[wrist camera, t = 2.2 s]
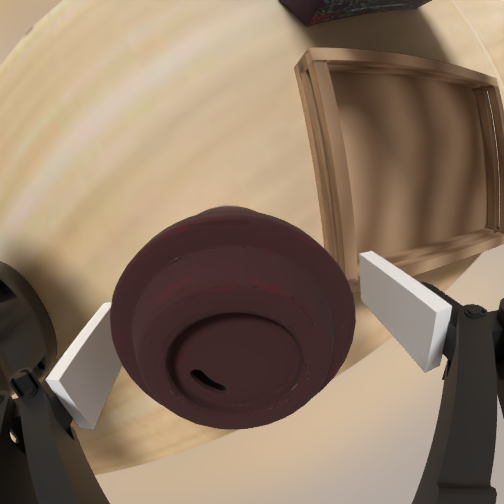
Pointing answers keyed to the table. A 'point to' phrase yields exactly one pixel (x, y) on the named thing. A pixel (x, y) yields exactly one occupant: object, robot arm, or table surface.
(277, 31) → the table surface
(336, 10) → the floral coffee bag
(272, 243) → the coffee cup
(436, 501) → the robot arm
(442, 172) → the crate
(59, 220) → the table surface
